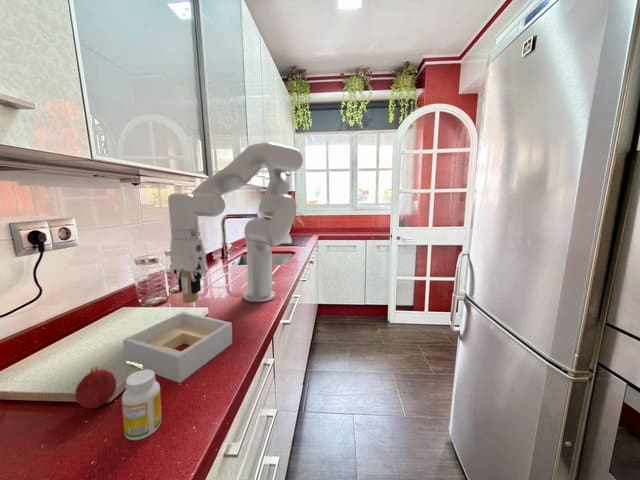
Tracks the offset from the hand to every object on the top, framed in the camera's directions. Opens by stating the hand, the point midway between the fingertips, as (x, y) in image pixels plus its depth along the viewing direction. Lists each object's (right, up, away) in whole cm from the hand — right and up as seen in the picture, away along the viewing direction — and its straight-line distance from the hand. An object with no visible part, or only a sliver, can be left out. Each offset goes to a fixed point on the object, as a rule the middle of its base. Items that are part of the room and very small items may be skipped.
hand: (190, 290), depth 84 cm
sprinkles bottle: (0, -4, +1) cm, 4 cm away
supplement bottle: (+11, -16, -38) cm, 43 cm away
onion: (0, -15, -34) cm, 38 cm away
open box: (+6, -13, -17) cm, 22 cm away
